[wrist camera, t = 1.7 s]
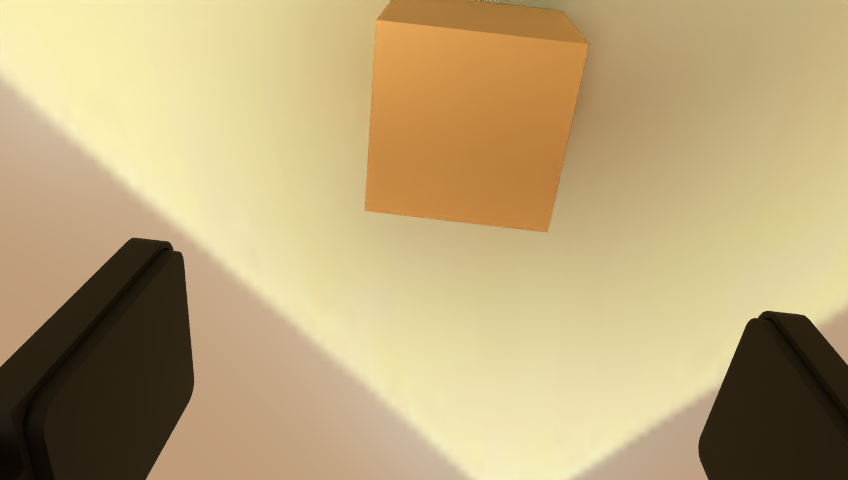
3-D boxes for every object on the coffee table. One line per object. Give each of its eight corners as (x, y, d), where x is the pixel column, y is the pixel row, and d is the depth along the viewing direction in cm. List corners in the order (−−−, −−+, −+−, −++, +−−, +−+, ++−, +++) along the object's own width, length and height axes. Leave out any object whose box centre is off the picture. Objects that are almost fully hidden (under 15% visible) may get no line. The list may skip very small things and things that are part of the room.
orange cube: (561, 10, 23) (589, 44, 18) (531, 164, 26) (547, 232, 21) (397, -9, 23) (376, 19, 18) (386, 147, 26) (364, 210, 21)
